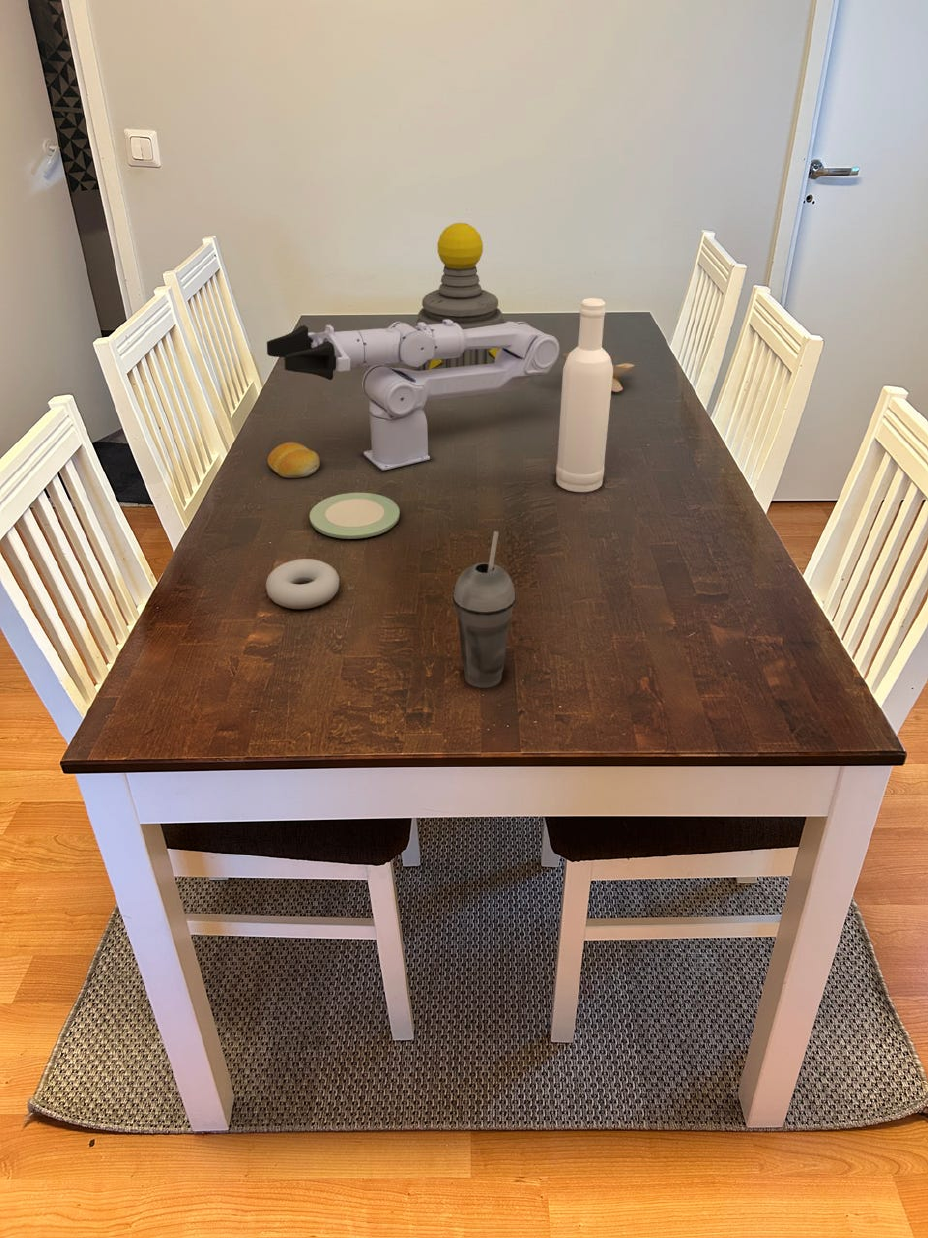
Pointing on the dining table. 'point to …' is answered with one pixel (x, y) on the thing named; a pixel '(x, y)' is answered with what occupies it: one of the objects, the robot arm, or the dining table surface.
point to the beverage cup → (484, 619)
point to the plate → (354, 515)
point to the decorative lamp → (461, 295)
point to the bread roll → (293, 460)
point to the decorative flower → (614, 373)
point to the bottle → (585, 405)
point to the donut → (302, 596)
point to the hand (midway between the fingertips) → (276, 355)
